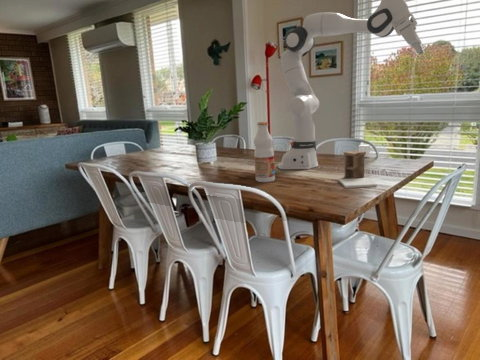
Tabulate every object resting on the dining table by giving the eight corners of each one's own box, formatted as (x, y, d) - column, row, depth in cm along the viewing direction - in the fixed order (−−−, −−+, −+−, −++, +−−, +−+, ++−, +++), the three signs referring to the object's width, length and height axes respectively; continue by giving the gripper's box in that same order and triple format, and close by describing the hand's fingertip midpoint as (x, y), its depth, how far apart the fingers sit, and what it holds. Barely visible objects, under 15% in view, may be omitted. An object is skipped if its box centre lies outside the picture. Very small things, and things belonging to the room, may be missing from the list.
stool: (354, 179, 168) (354, 153, 165) (343, 176, 174) (343, 152, 171) (365, 177, 171) (365, 151, 168) (354, 174, 177) (354, 150, 174)
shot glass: (356, 155, 225) (356, 144, 223) (367, 155, 225) (367, 143, 223) (361, 157, 218) (361, 146, 216) (372, 156, 218) (372, 145, 217)
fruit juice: (253, 179, 180) (250, 122, 174) (271, 177, 182) (269, 121, 176) (258, 183, 171) (255, 123, 165) (277, 181, 173) (275, 122, 167)
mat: (345, 188, 154) (345, 185, 154) (339, 181, 166) (339, 179, 166) (376, 186, 153) (376, 184, 153) (368, 179, 165) (368, 177, 165)
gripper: (402, 33, 174) (416, 58, 173) (395, 28, 157) (410, 56, 156) (415, 24, 170) (430, 50, 170) (409, 18, 153) (425, 47, 153)
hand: (420, 53), depth 163 cm, fingers open, 8 cm apart
